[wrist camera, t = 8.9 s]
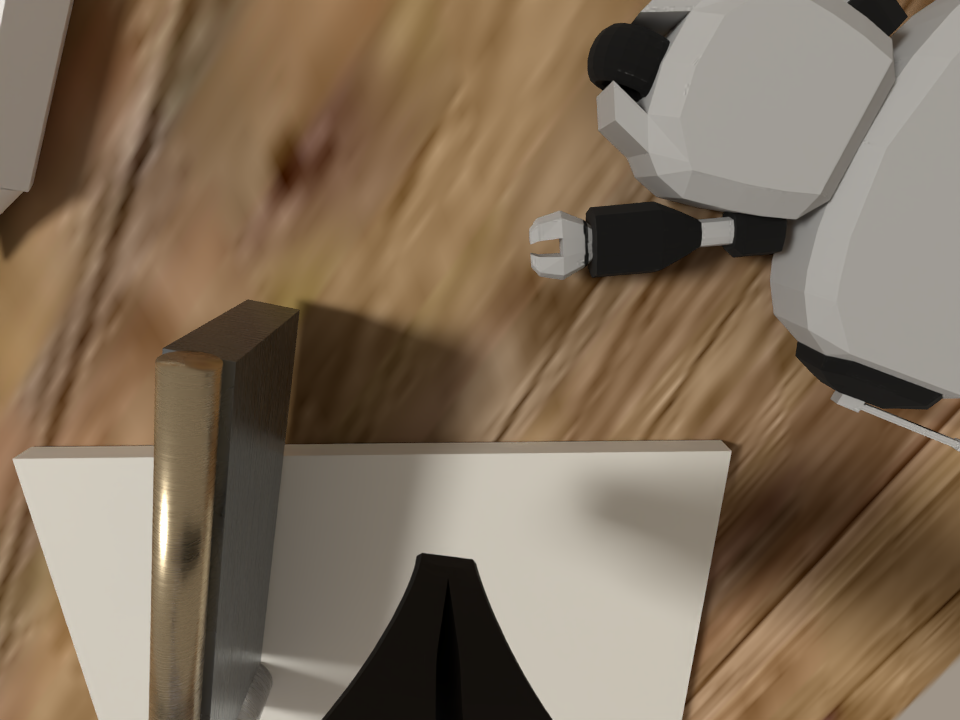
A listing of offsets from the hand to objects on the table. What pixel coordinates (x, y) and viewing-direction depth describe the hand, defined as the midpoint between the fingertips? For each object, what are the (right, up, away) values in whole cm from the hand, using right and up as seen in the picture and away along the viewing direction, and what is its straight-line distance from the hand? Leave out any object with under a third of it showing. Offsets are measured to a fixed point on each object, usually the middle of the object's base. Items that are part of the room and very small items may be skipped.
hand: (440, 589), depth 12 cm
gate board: (-3, -6, +9) cm, 11 cm away
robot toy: (+11, +12, +4) cm, 16 cm away
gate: (-7, +1, +5) cm, 8 cm away
